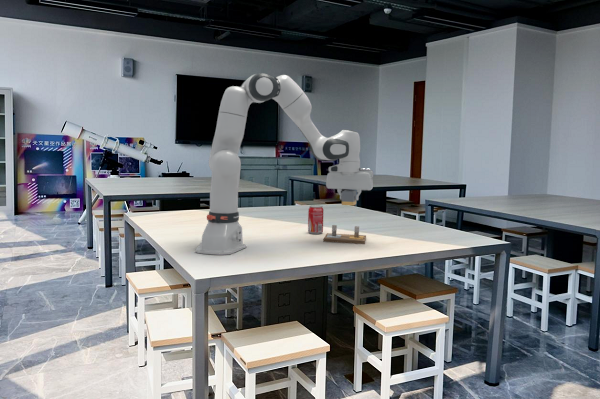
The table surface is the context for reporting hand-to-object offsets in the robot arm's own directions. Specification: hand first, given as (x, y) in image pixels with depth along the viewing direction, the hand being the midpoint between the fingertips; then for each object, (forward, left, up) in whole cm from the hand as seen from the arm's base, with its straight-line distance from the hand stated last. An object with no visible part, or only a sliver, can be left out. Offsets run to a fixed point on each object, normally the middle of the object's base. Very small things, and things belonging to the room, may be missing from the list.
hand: (349, 199), depth 216 cm
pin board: (+4, +1, -19) cm, 19 cm away
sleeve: (0, 0, -2) cm, 2 cm away
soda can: (+16, +16, -19) cm, 30 cm away
